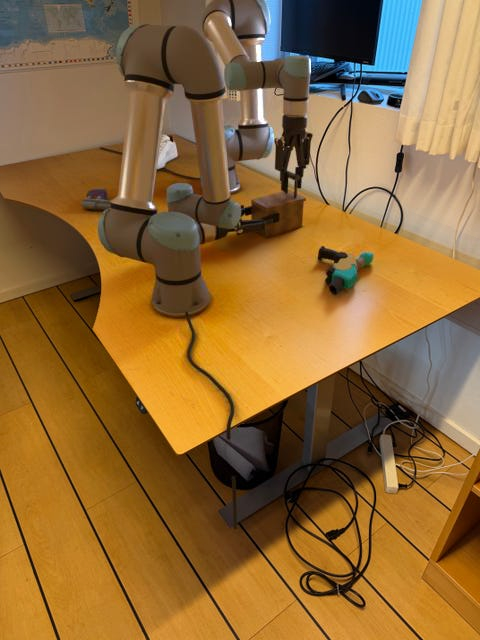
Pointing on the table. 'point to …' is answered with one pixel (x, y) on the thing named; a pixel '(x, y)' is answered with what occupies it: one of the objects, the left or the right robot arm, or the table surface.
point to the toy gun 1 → (96, 200)
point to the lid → (280, 197)
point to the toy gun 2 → (343, 268)
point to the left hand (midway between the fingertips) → (269, 212)
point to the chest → (280, 218)
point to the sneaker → (166, 150)
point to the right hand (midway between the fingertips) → (291, 189)
